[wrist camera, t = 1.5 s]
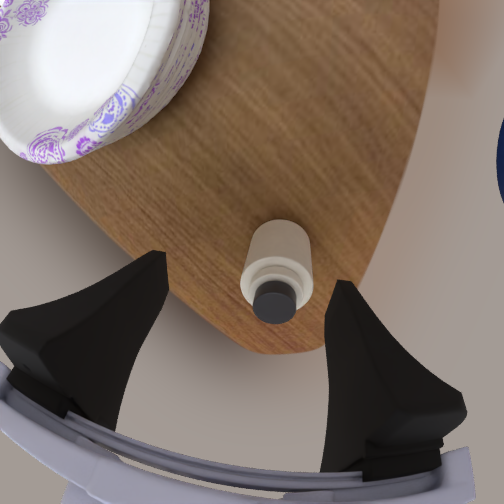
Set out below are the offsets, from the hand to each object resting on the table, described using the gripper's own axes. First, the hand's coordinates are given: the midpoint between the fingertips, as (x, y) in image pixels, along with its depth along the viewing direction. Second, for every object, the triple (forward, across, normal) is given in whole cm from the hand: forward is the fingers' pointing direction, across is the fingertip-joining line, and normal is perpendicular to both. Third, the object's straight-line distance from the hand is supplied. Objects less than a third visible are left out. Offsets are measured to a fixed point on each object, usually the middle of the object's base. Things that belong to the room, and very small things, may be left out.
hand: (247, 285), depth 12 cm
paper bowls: (+9, +12, -12) cm, 19 cm away
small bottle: (+9, -1, +3) cm, 10 cm away
